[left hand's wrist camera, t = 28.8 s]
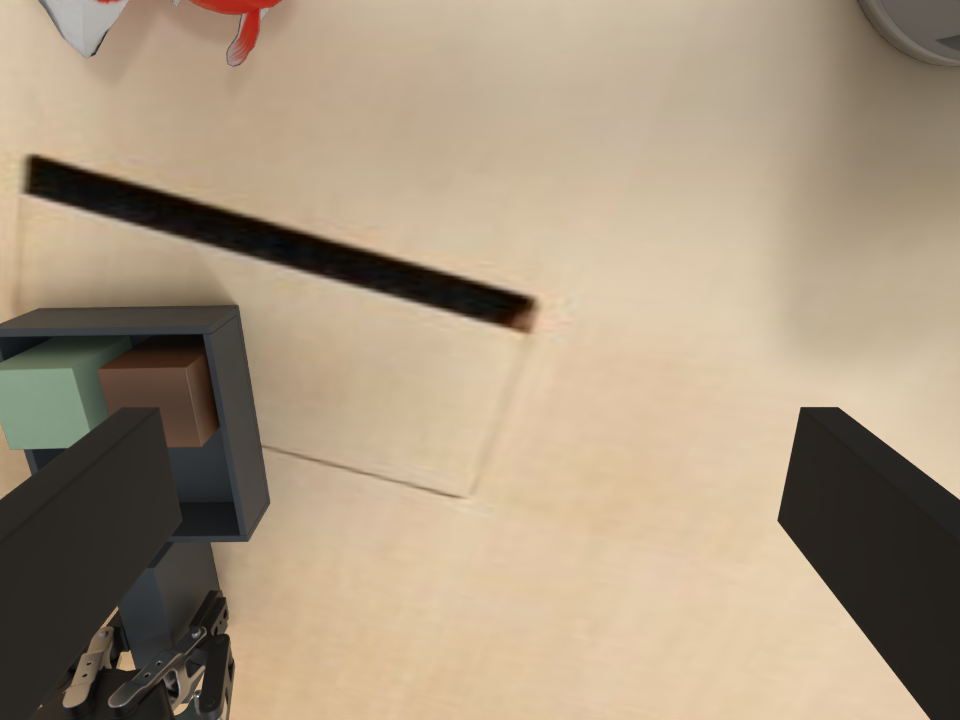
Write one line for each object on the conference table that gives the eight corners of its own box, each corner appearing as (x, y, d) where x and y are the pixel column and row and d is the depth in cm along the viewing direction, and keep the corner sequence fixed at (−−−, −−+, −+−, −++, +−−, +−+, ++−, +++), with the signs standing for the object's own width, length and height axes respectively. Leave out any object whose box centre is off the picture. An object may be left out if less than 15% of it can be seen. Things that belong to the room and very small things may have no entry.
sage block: (53, 337, 39) (-18, 370, 34) (130, 334, 39) (71, 368, 34) (74, 406, 41) (9, 450, 35) (147, 404, 41) (94, 447, 35)
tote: (38, 308, 39) (-51, 343, 32) (238, 305, 39) (189, 339, 32) (128, 627, 48) (73, 705, 42) (290, 625, 48) (260, 702, 42)
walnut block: (151, 335, 39) (96, 369, 34) (228, 334, 39) (185, 367, 34) (166, 405, 41) (117, 448, 35) (240, 404, 41) (202, 447, 35)
